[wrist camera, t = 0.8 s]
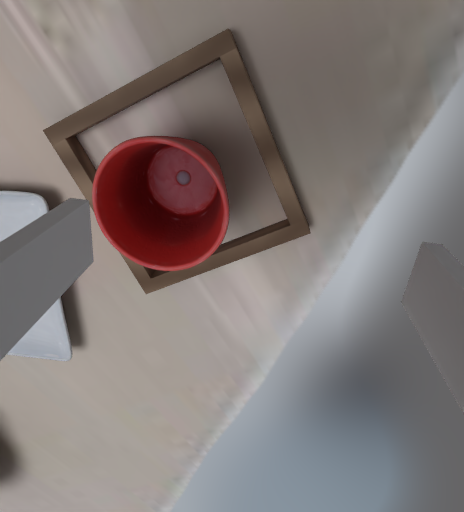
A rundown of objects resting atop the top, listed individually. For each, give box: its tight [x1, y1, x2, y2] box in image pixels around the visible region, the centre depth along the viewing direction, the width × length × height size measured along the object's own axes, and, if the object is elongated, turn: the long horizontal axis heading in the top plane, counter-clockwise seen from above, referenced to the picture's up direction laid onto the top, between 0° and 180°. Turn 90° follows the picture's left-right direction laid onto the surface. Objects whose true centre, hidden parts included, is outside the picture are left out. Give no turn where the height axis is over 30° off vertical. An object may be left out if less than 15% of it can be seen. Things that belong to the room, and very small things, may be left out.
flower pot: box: [92, 136, 229, 271], centre depth 34 cm, size 11×11×10 cm
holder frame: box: [43, 28, 310, 294], centre depth 37 cm, size 19×19×2 cm
